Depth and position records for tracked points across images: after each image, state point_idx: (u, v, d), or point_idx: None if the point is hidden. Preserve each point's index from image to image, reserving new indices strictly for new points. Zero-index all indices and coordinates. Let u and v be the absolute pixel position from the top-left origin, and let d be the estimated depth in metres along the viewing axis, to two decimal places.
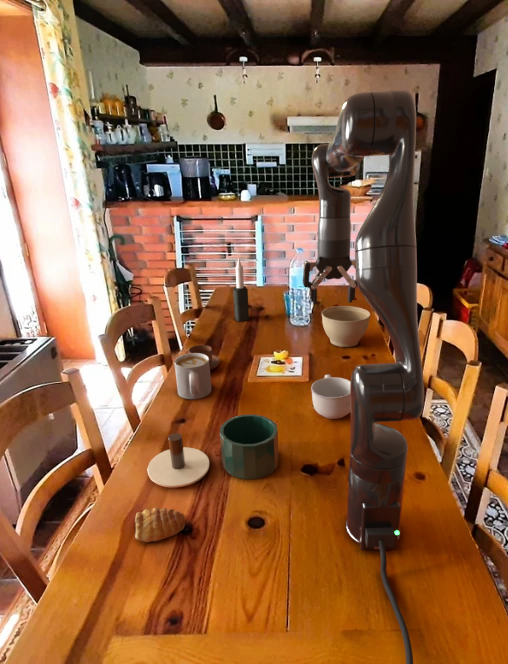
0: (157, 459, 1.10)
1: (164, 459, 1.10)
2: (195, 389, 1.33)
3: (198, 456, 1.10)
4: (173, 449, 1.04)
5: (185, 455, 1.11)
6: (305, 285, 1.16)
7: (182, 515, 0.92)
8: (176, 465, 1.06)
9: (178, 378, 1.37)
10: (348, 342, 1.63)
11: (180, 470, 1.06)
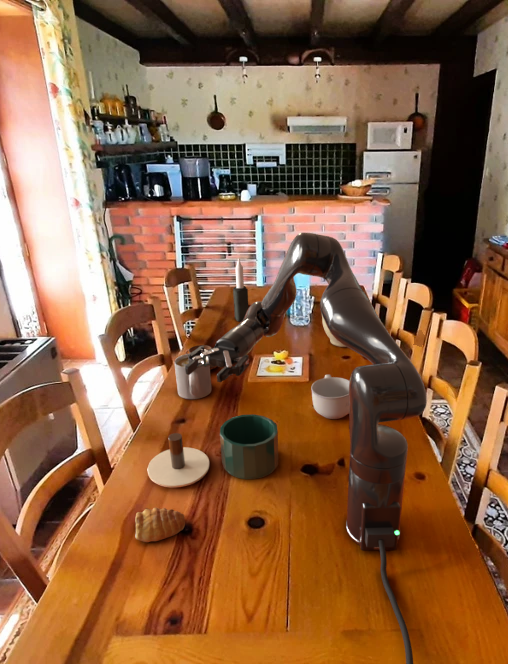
0: (157, 459, 1.10)
1: (164, 459, 1.10)
2: (195, 389, 1.33)
3: (198, 456, 1.10)
4: (173, 449, 1.04)
5: (185, 455, 1.11)
6: (189, 355, 1.17)
7: (182, 515, 0.92)
8: (176, 465, 1.06)
9: (178, 378, 1.37)
10: None
11: (180, 470, 1.06)
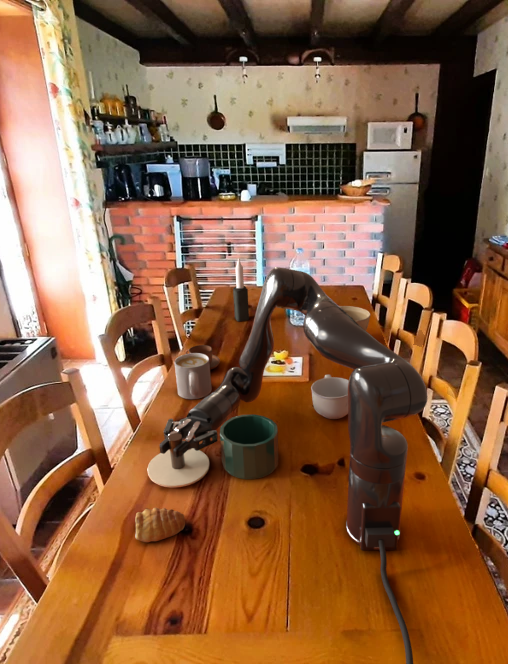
0: (157, 459, 1.10)
1: (164, 459, 1.10)
2: (195, 389, 1.33)
3: (198, 456, 1.10)
4: (173, 449, 1.04)
5: (185, 455, 1.11)
6: (165, 431, 1.09)
7: (182, 515, 0.92)
8: (176, 465, 1.06)
9: (178, 378, 1.37)
10: None
11: (180, 470, 1.06)
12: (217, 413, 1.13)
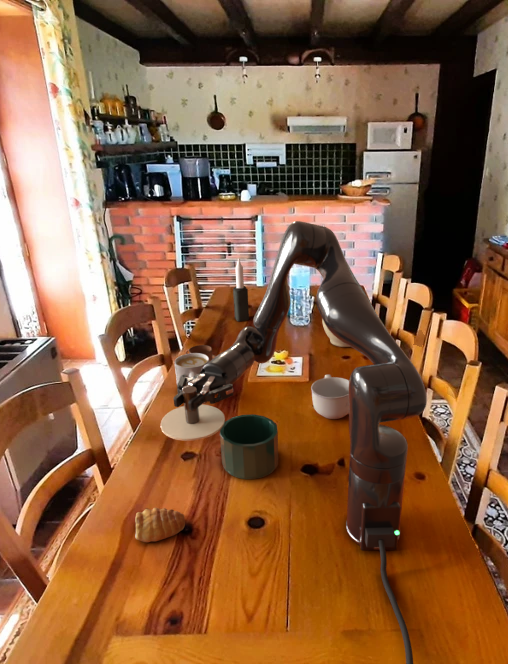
0: (170, 415, 1.06)
1: (178, 415, 1.06)
2: None
3: (213, 412, 1.06)
4: None
5: (199, 411, 1.07)
6: (178, 385, 1.05)
7: (182, 515, 0.92)
8: (190, 419, 1.02)
9: (178, 378, 1.37)
10: None
11: (195, 425, 1.02)
12: (232, 368, 1.09)
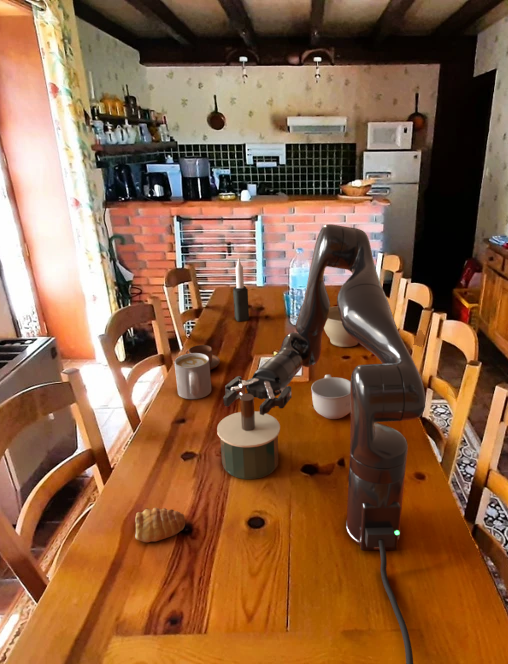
0: (225, 421, 1.09)
1: (233, 422, 1.08)
2: (195, 389, 1.33)
3: (267, 419, 1.08)
4: (245, 410, 1.03)
5: None
6: (226, 385, 1.09)
7: (182, 515, 0.92)
8: (247, 426, 1.04)
9: (178, 378, 1.37)
10: (348, 342, 1.63)
11: (251, 431, 1.04)
12: (284, 373, 1.11)
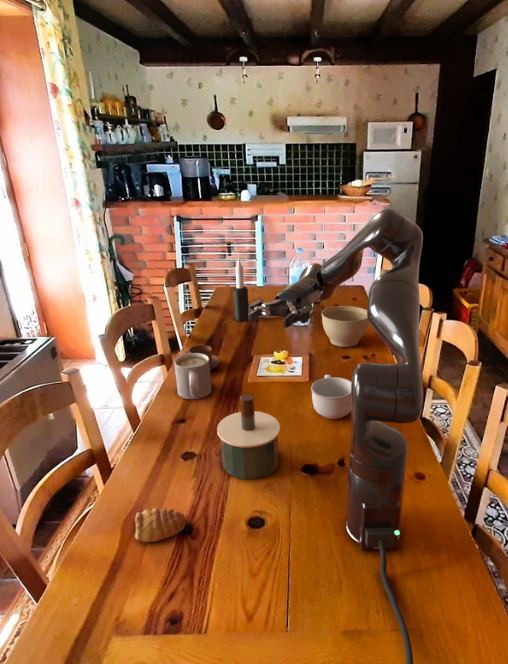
0: (225, 421, 1.09)
1: (233, 422, 1.08)
2: (195, 389, 1.33)
3: (267, 419, 1.08)
4: (245, 410, 1.03)
5: None
6: (250, 305, 1.13)
7: (182, 515, 0.92)
8: (247, 426, 1.04)
9: (178, 378, 1.37)
10: (348, 342, 1.63)
11: (251, 431, 1.04)
12: (305, 296, 1.16)
